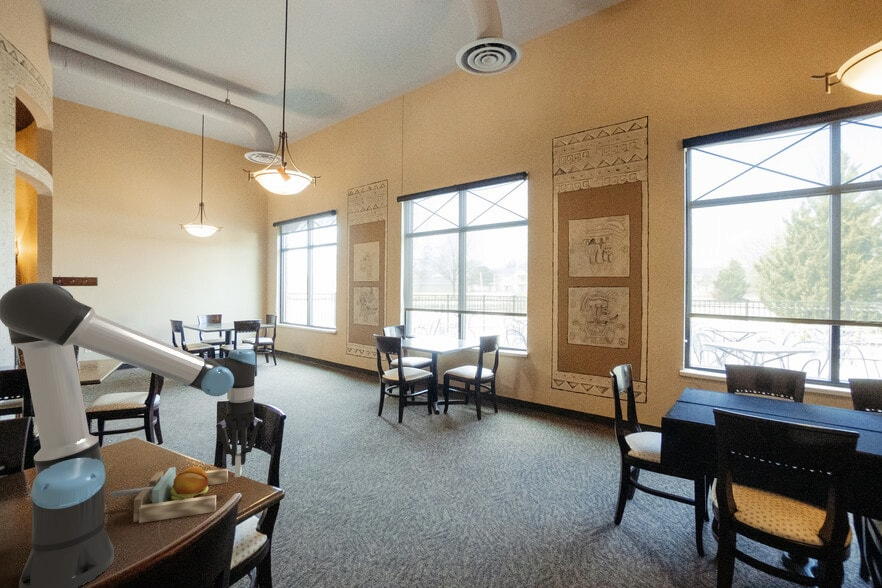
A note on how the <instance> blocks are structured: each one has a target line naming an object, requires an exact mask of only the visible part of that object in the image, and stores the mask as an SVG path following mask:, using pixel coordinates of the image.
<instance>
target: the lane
mask: <svg viewBox="0 0 882 588" xmlns="http://www.w3.org/2000/svg"><path fill="white" fill-rule="evenodd" d="M204 471H205V472H206V474H207V476H208V477H209V478H208V480H209V482H208V485H207V486H213V485H220V484H227V483H228V480H229V469H228V468H221V469H212V470H204ZM177 475H178V474H176V476H177ZM163 476H164V471H162V470H160V471H156V473H155V474H154V475H153V476H152V477H151V478H150V480H149V484H148V485H149V486H148V487H154V486H156V485H157V484H158V482H159V481H160V480H161V478H162V477H163ZM145 488H146V487H145ZM150 502H152V492H150V488H146V489H143V490H142V491H141V492H140V493H139V494H137V496H136V497H135V498H134V499H133V523H135V522H138V523H139V524H143V523H148V522H155V521H162V520H169V519H175V518H183V517H189V516H195V515H202V514H207V513H208V514H210V513H214V512H216V510H217V494H214V495H213V494H212V495H206V496H204V497H198V498H191V499H183V500H176V501H171V500H168V501H167V502H161V503H154V504H152V503H150Z"/></svg>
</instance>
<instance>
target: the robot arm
mask: <svg viewBox="0 0 882 588" xmlns="http://www.w3.org/2000/svg"><path fill="white" fill-rule="evenodd" d="M0 321H1V323H2V324H3V325H4V326H5V327H6V328H7V330H8V333H9V334H8V335H9V340H10V344H11V346H13V347H16V348H18V349H20V350H21V351H22V354H23V360H24V365H25V366H24V367H25V369H26V376H27V380H28V386H29V390H30V396H31V402H32V407H33V412H34V417H35V418H34V419H35V422H36V427H37V433H38V439H39V443H40V444H39V445H40V449H39V450H38V451H37V452H36V453H35V455H34V456H33V461H34V466H35V472H36V477H35V478H34V479H33V482H32V488H31V490H30V497H31V499H32V500H31V501H32V502H31V505H32V509H31V510H32V512H31V517H32V519H31V551H30V553H29V556H28V558H27V561H26V563H25V566H24V568H23V570H22V573H21V575H20V578H19V581H18V583H19V584H18V588H77V587H79V586H81V585H83V584H84V583H86V582H89V583H90V582H92V581H94V580H96V579H97V578H96V576H98V575H99V574H101V573H102V572H104V571H105V570H106V569H107V568H108V567H109V566H110V565H112V564H113V562H114V559H115V548H114V545H113V542H112V541H111V539H110V537H109V534H108V532H107V531H106V528H105V510H106V509H105V507H106V506H105V501H106V500H105V497H106V496H105V492H106V489H105V488H106V479H107V471H106V466H105V467H104V464H105V459H104V457H103V455H102V452H101V450H102V449H101V446H100V440H99V438H98V436H95V435H92V434H90V430H89V425H88V420H87V415H86V414H87V413H86V408H85V404H84V397H83V393H82V392H83V391H82V387H81V382H80V375H79V370H78V365H77V364H78V363H77V358H76V352H75V349H74V346H77V347H80V348H82V349H85V350H88V351H91V352H93V353H96V354H99V355H102V356H105V357H108V358H111V359H113V360H116V361H119V362H122V363H124V364H127V365H130V366H133V367H135V368H139V369H141V370H144V371H146V372H149V373H153V374H154V375H155V374H156V375H158V376H160V377H164V378H166V379H169V380H172V381H175V382H177V383H181V384H182V385H183V387H191V388H193V389H196V390H199V391H201V392H203V393H204V394H205V395H208V396H210V397H221V396H224V395H226V394H227V395H226V396H227V397H226V399H227V400H228V401H226V415H225V417H224V419H223V420H221V421H219V422H217V424H216V426H215V427H216V429H217V430H218V431H219V435H220V438H221V443H222V446H223V450H224V454H225V455H229V456H231V461H230V462H231V463H230V464H231V466H232V467H234V478H240V477H241V475H242V469H243V465H245V463H246V461H247V458H246V457H247V454H248V453H251V452H252V451H253V447H254V445H255V440H256V438H257V435H258V431H259V429H260V427H261V426H262V424H263V419H262V418H257V417H256V414H255V411H254V409H255V400H254V397H255V378H256V363H257V362H256V352H255V351H254V350H252V349H248V348H240V349H231V350H229V352H228V355H227V356H225V357H218V358H217V357H216V358H214V357H213V358H203V357H200V356H198V355H195V354H193V353H192V352H188V351H186V350H184V349H181V348H178V347H176V346H173V345H171V344H169V343H166V342H164V341H161V340H159V339H157V338H155V337H152V336H149V335H147V334H146V333H145V334H144V333H143V332H139V331H138V330H135V329H132V328H130V327H127V326H126V325H122V324H120V323H118V322H115V321H113V320H111V319H108V318H106V317H103V316H101V315H98V314H97V313H96V312H95V309H94V308H93V307H91V306H88V305H86V304H84V303H82V302H80V301H78V300H77V299H75V298H74V295H73V294H71V293H70V291H69V290H67V289H66V288H64V287H62V286H60V285H58V284H54V283H50V282H29V283H23V284H19V285H17V286H15V287H13V288H11V289H9V290H8V291H7V292H5V293H4V294H3V295H2V297H1V298H0ZM252 423H253V426H254V427H253V430H252V434H251V436H250V437H251V438H250V439H249V444H248V446H247V443H248V442H247V438H248V428H249V427H250V425H252ZM227 426H228V427H229V428H230V429H231V444H230V441H229V440H230V439H229V436H228V432H227V428H226V427H227ZM239 430H240V433H241V437H240V438H241V439H240V441H241V442H240V452H238V434H239V433H238V432H239ZM110 567H111V566H110ZM110 567H109V568H110ZM109 568H108V569H109ZM108 569H107V570H108ZM107 570H106V571H107ZM106 571H105V572H106ZM105 572H104V573H105ZM101 575H102V574H101ZM95 578H96V579H95ZM83 586H84V585H83ZM81 587H82V586H81ZM79 588H80V587H79Z"/></svg>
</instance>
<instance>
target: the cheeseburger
mask: <svg viewBox="0 0 882 588" xmlns="http://www.w3.org/2000/svg"><path fill="white" fill-rule="evenodd" d="M205 471H206V470H204V469H203V468H202V467H200V466H196V465H195V466H191V467H188V468H186V469H183V470H182V471H180V472H179V473H177V474H176V475H177V476H176V477H175V479H174V483H173V486H172V487H171V488H170V493H171V495H170V496H171V497H170V501H176V500H183V499H191V498H198V497H205V495H206V494H207V493H208V491H209V485H208V482H209V480H208V478H209V477H208V476H207V474H206V472H205Z"/></svg>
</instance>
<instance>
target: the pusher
mask: <svg viewBox="0 0 882 588" xmlns="http://www.w3.org/2000/svg"><path fill="white" fill-rule="evenodd" d="M176 468H177V467H175V466H173V467H169V468H168V470H167V471H166V472H165V473H164V474H163V477H162V478H161V480H160V481H159V482H158V484H157V485H156V486H154V487H149V486H148V487H147V486H146V487H138V488H132V489H131V488H130V489H123V490H116V491H114V490H113V491H110V494H109V497H110V498H114V497H115V498H116V497H123V496H132V495H138V494H139V493H140V492H141V491H142V490H143V489H146V488H150V492H152V501H151V502H152V503H151V504H154V503H161V502H169V501H170V499H171V496H170V495H171V493H170V488H171V487H172V486H173V483H174V479H175V477H176V475H177V474H176V473H177V471H176V470H177V469H176Z"/></svg>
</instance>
